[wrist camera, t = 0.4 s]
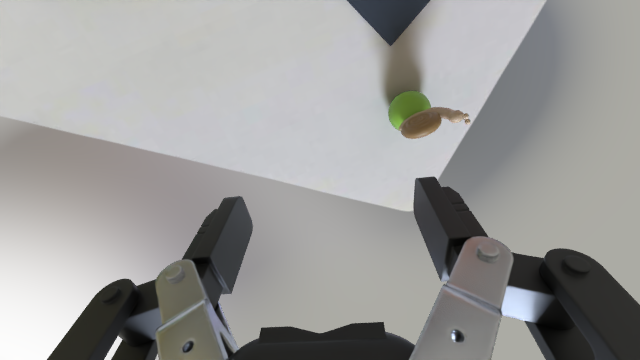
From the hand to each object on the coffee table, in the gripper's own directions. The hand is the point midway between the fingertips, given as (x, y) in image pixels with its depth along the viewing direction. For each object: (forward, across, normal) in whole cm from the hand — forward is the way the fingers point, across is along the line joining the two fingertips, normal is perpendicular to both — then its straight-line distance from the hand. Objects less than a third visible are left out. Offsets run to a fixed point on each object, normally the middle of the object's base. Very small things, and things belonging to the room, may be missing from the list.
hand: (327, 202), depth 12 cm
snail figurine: (+28, -11, +6) cm, 31 cm away
